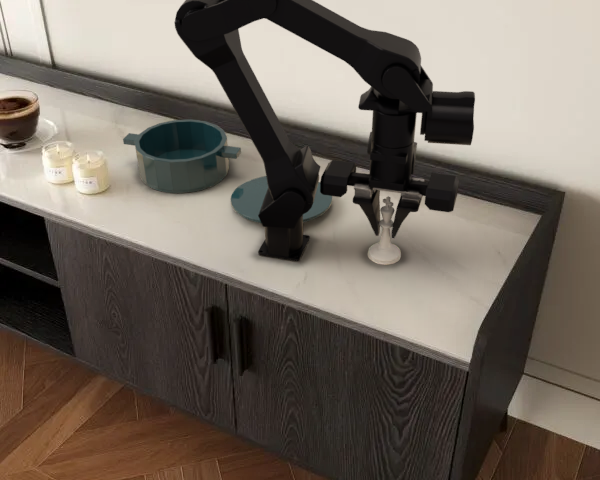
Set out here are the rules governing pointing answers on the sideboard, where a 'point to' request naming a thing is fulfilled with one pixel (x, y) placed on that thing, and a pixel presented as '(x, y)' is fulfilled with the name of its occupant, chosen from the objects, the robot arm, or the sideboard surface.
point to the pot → (182, 155)
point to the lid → (253, 193)
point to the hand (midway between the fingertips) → (385, 235)
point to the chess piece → (385, 239)
